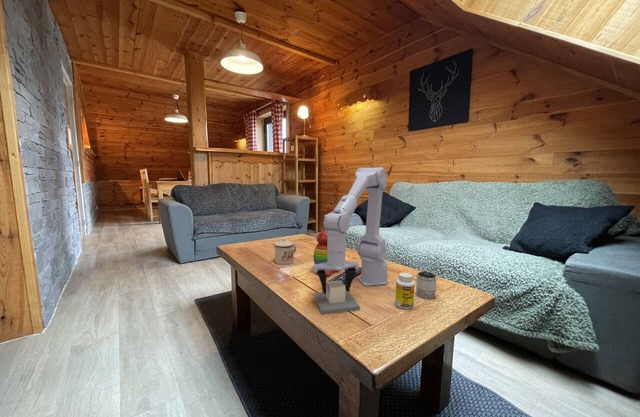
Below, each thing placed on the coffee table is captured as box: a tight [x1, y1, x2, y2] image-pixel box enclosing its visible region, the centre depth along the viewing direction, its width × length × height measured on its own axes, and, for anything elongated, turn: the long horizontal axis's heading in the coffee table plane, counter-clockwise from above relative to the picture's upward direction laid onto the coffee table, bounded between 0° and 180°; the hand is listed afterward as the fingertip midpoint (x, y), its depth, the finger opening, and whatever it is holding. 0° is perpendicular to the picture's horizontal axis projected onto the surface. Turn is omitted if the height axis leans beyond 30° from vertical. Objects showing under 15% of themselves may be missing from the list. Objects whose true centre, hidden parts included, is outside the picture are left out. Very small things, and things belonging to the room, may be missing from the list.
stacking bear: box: [313, 230, 341, 278], centre depth 112 cm, size 11×10×18 cm
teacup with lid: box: [274, 237, 297, 266], centre depth 125 cm, size 12×9×12 cm
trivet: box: [313, 289, 361, 315], centre depth 85 cm, size 12×12×1 cm
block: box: [326, 280, 346, 303], centre depth 85 cm, size 5×5×5 cm
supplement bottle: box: [394, 272, 416, 310], centre depth 83 cm, size 6×6×10 cm
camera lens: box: [415, 271, 437, 300], centre depth 90 cm, size 6×6×8 cm
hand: (335, 291), depth 85 cm, fingers open, 7 cm apart
